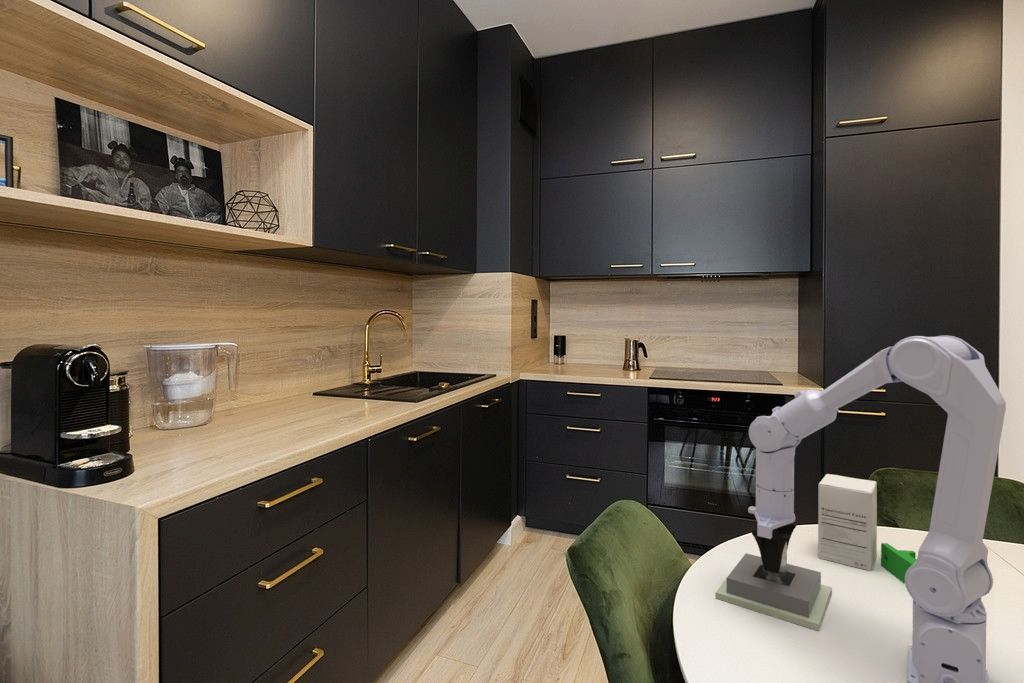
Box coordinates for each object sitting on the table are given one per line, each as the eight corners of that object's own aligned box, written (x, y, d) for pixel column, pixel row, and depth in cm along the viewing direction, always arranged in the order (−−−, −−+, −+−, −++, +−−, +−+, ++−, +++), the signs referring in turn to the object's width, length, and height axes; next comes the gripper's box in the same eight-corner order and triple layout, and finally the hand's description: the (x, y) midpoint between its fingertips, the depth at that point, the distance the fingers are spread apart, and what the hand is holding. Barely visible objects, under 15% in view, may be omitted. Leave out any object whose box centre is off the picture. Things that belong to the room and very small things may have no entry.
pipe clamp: (945, 598, 85) (945, 571, 85) (920, 597, 85) (921, 570, 85) (902, 567, 96) (902, 543, 96) (880, 566, 96) (881, 542, 96)
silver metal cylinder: (785, 591, 83) (785, 543, 83) (761, 585, 85) (762, 538, 85) (787, 582, 86) (787, 535, 86) (764, 576, 88) (765, 531, 88)
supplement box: (825, 543, 106) (825, 472, 106) (877, 555, 100) (878, 480, 100) (816, 558, 99) (816, 482, 99) (872, 572, 94) (872, 492, 93)
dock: (819, 631, 75) (819, 607, 75) (715, 598, 85) (715, 577, 85) (831, 592, 86) (832, 572, 86) (738, 567, 96) (738, 549, 96)
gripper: (759, 472, 93) (759, 545, 94) (737, 492, 82) (737, 575, 82) (803, 479, 89) (802, 556, 89) (785, 501, 78) (785, 589, 78)
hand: (774, 566), depth 85 cm, fingers closed on silver metal cylinder, 3 cm apart
